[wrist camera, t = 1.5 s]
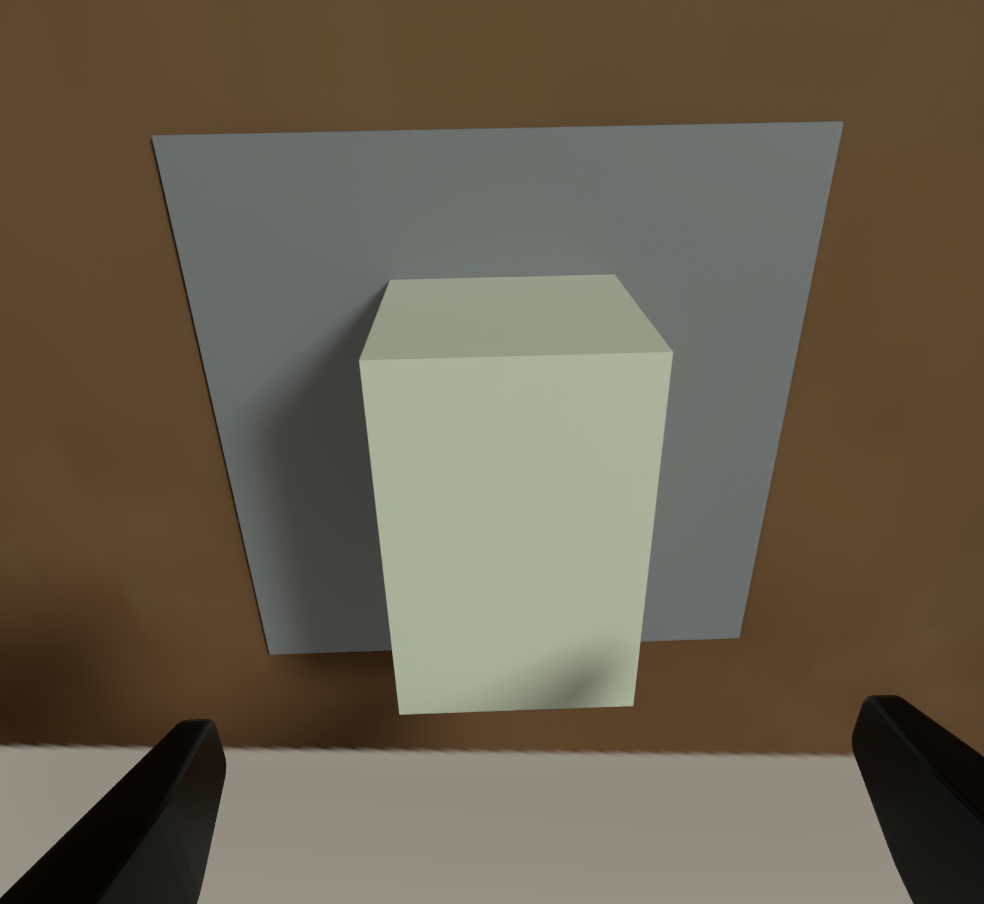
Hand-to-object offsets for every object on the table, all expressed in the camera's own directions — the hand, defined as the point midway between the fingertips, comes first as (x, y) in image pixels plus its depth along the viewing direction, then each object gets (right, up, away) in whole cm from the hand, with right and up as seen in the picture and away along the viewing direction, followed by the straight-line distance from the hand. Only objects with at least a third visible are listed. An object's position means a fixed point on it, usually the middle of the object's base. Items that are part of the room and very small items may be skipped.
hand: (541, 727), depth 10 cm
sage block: (0, +4, +8) cm, 9 cm away
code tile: (0, +4, +8) cm, 9 cm away
